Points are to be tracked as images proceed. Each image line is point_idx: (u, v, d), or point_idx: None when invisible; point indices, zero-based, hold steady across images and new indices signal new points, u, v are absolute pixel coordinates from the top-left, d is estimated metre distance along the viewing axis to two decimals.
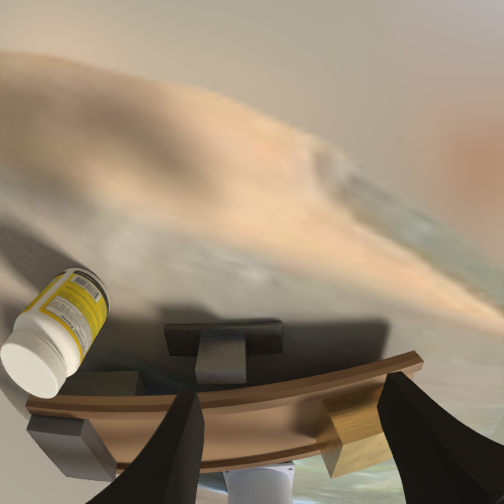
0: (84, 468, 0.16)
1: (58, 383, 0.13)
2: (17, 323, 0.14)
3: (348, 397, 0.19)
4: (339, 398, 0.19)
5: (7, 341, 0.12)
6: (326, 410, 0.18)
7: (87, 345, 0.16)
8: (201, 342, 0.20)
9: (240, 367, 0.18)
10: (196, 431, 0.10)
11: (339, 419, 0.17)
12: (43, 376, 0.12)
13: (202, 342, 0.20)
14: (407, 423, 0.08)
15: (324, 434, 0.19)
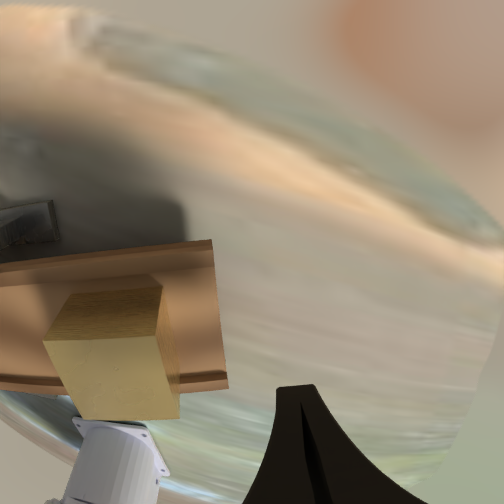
0: None
1: None
2: None
3: (99, 294, 0.14)
4: (89, 294, 0.14)
5: None
6: (66, 305, 0.13)
7: None
8: None
9: None
10: None
11: (65, 314, 0.12)
12: None
13: None
14: (307, 442, 0.08)
15: None
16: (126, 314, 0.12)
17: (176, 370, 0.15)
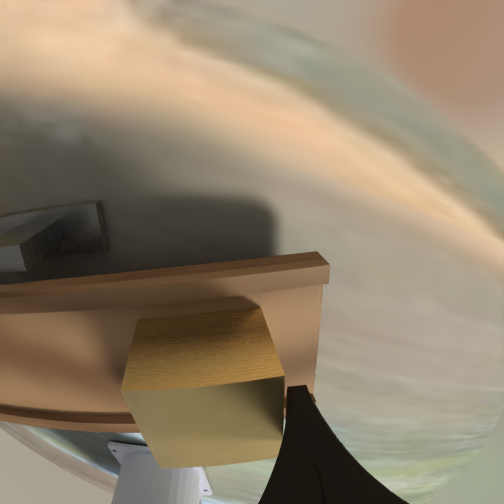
0: None
1: None
2: None
3: (180, 320, 0.12)
4: (164, 320, 0.12)
5: None
6: (135, 335, 0.11)
7: None
8: (12, 230, 0.13)
9: (17, 243, 0.11)
10: None
11: (142, 349, 0.10)
12: None
13: (13, 229, 0.13)
14: None
15: None
16: (231, 347, 0.10)
17: None
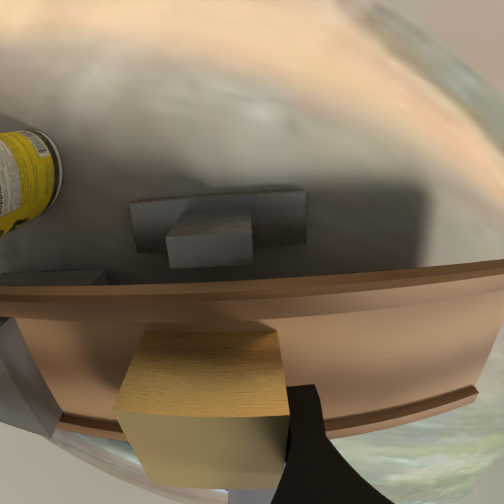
0: (9, 405, 0.11)
1: None
2: None
3: (188, 337, 0.11)
4: (172, 335, 0.11)
5: None
6: (139, 348, 0.11)
7: (10, 202, 0.09)
8: (182, 216, 0.13)
9: (243, 231, 0.11)
10: None
11: (143, 366, 0.09)
12: None
13: (184, 216, 0.13)
14: (289, 444, 0.08)
15: None
16: (237, 375, 0.09)
17: None
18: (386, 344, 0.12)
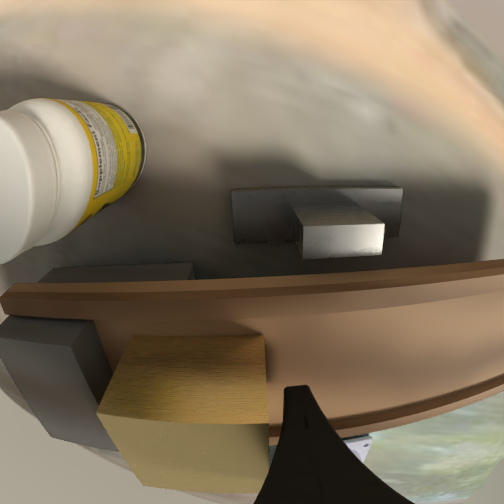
0: (76, 421, 0.11)
1: (35, 204, 0.06)
2: None
3: (174, 341, 0.11)
4: (159, 339, 0.11)
5: None
6: (126, 352, 0.10)
7: (107, 180, 0.09)
8: (294, 207, 0.13)
9: (374, 222, 0.11)
10: None
11: (128, 370, 0.09)
12: (6, 185, 0.05)
13: (296, 207, 0.13)
14: None
15: None
16: (219, 381, 0.09)
17: None
18: (472, 327, 0.12)
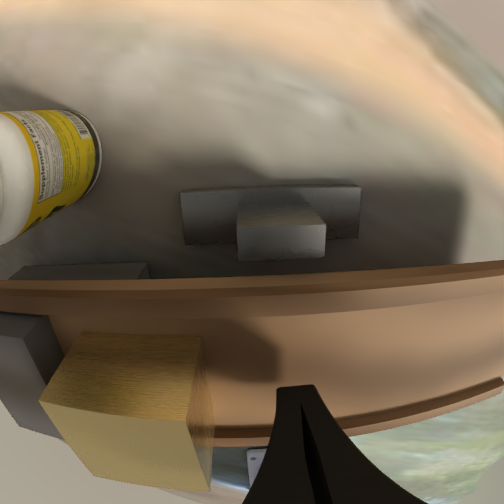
0: (37, 411, 0.11)
1: None
2: None
3: (117, 338, 0.11)
4: (104, 335, 0.11)
5: None
6: (74, 347, 0.10)
7: (52, 185, 0.09)
8: (240, 207, 0.13)
9: (316, 223, 0.11)
10: None
11: (71, 363, 0.09)
12: None
13: (242, 207, 0.13)
14: (307, 442, 0.08)
15: None
16: (149, 377, 0.09)
17: (210, 432, 0.11)
18: (436, 336, 0.12)
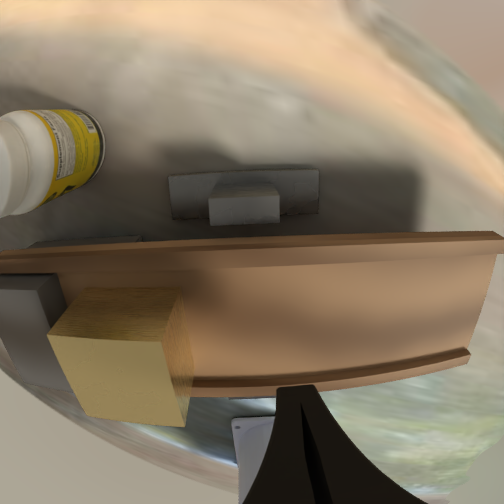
0: (42, 362, 0.13)
1: (12, 180, 0.08)
2: None
3: (114, 290, 0.14)
4: (103, 289, 0.14)
5: None
6: (78, 298, 0.13)
7: (67, 167, 0.12)
8: (216, 187, 0.16)
9: (271, 195, 0.13)
10: None
11: (75, 309, 0.12)
12: None
13: (217, 187, 0.16)
14: (307, 442, 0.08)
15: None
16: (136, 314, 0.12)
17: (188, 375, 0.14)
18: (387, 296, 0.14)
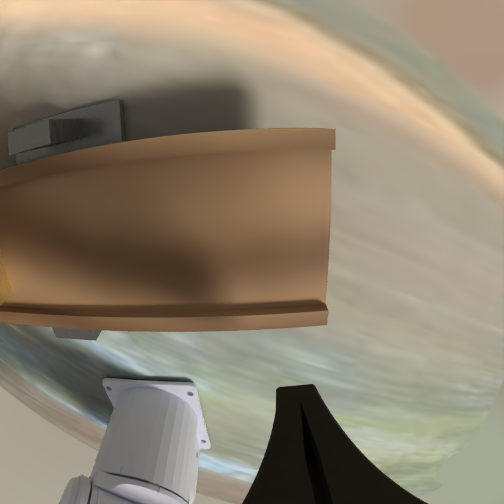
0: None
1: None
2: None
3: None
4: None
5: None
6: None
7: None
8: None
9: None
10: None
11: None
12: None
13: None
14: (307, 442, 0.08)
15: None
16: None
17: None
18: (155, 211, 0.13)
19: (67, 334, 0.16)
